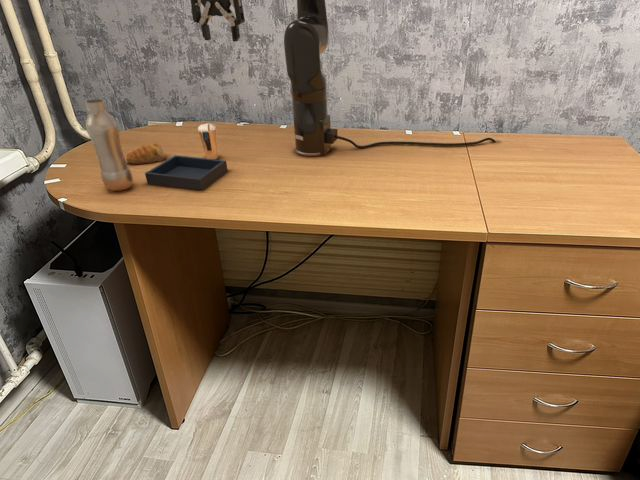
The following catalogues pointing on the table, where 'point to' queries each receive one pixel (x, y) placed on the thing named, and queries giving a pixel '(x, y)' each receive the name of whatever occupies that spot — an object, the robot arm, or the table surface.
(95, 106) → the plastic bottle
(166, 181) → the tray
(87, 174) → the table surface
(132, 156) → the pastry
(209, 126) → the milkshake
